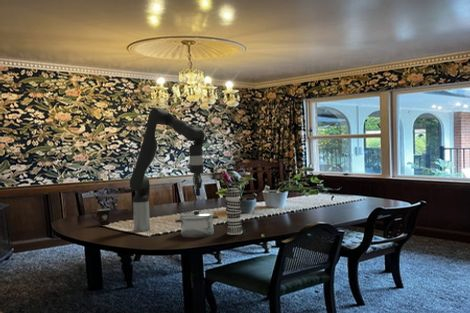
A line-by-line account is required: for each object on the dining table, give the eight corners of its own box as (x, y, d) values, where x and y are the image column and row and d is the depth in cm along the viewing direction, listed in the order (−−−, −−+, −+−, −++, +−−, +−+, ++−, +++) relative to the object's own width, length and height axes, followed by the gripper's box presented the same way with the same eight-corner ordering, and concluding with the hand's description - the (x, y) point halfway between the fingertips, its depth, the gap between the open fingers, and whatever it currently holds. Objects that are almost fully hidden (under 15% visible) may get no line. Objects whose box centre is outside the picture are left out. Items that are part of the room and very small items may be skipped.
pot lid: (183, 220, 233) (183, 215, 233) (176, 215, 252) (176, 210, 252) (217, 217, 239) (217, 211, 239) (208, 212, 258) (207, 207, 258)
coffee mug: (113, 223, 294) (112, 208, 293) (108, 225, 285) (107, 210, 285) (97, 223, 295) (96, 208, 295) (91, 226, 286) (90, 211, 286)
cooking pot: (179, 239, 233) (178, 220, 232) (173, 233, 250) (172, 216, 249) (222, 234, 240) (221, 216, 240) (213, 228, 257) (212, 212, 257)
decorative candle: (233, 230, 249) (231, 187, 248) (246, 232, 243) (244, 187, 242) (223, 233, 242) (220, 188, 241) (235, 235, 236) (233, 189, 235)
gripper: (187, 164, 244) (188, 195, 244) (192, 164, 231) (193, 197, 232) (200, 163, 246) (201, 194, 246) (206, 164, 233) (207, 196, 234)
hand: (197, 195), depth 239 cm, fingers closed
